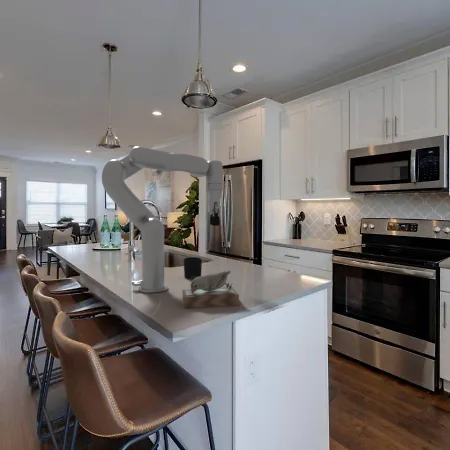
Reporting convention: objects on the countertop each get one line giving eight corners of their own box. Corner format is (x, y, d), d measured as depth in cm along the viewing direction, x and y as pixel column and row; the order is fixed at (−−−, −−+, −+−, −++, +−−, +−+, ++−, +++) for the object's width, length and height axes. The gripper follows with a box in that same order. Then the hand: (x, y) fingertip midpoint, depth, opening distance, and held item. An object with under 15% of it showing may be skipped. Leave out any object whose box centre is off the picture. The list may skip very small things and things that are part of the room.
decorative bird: (189, 291, 118) (188, 272, 117) (228, 287, 124) (228, 269, 123) (192, 295, 113) (192, 274, 112) (233, 291, 119) (233, 271, 118)
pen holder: (180, 278, 161) (180, 259, 160) (190, 275, 169) (190, 256, 169) (195, 280, 157) (195, 260, 156) (205, 276, 165) (205, 258, 164)
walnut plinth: (183, 308, 111) (183, 296, 111) (182, 299, 122) (182, 289, 122) (238, 305, 114) (238, 294, 114) (232, 297, 125) (232, 286, 125)
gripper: (204, 189, 152) (204, 224, 152) (208, 186, 134) (208, 226, 135) (219, 189, 153) (220, 224, 153) (225, 186, 136) (225, 226, 136)
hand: (214, 225), depth 144 cm, fingers open, 9 cm apart
